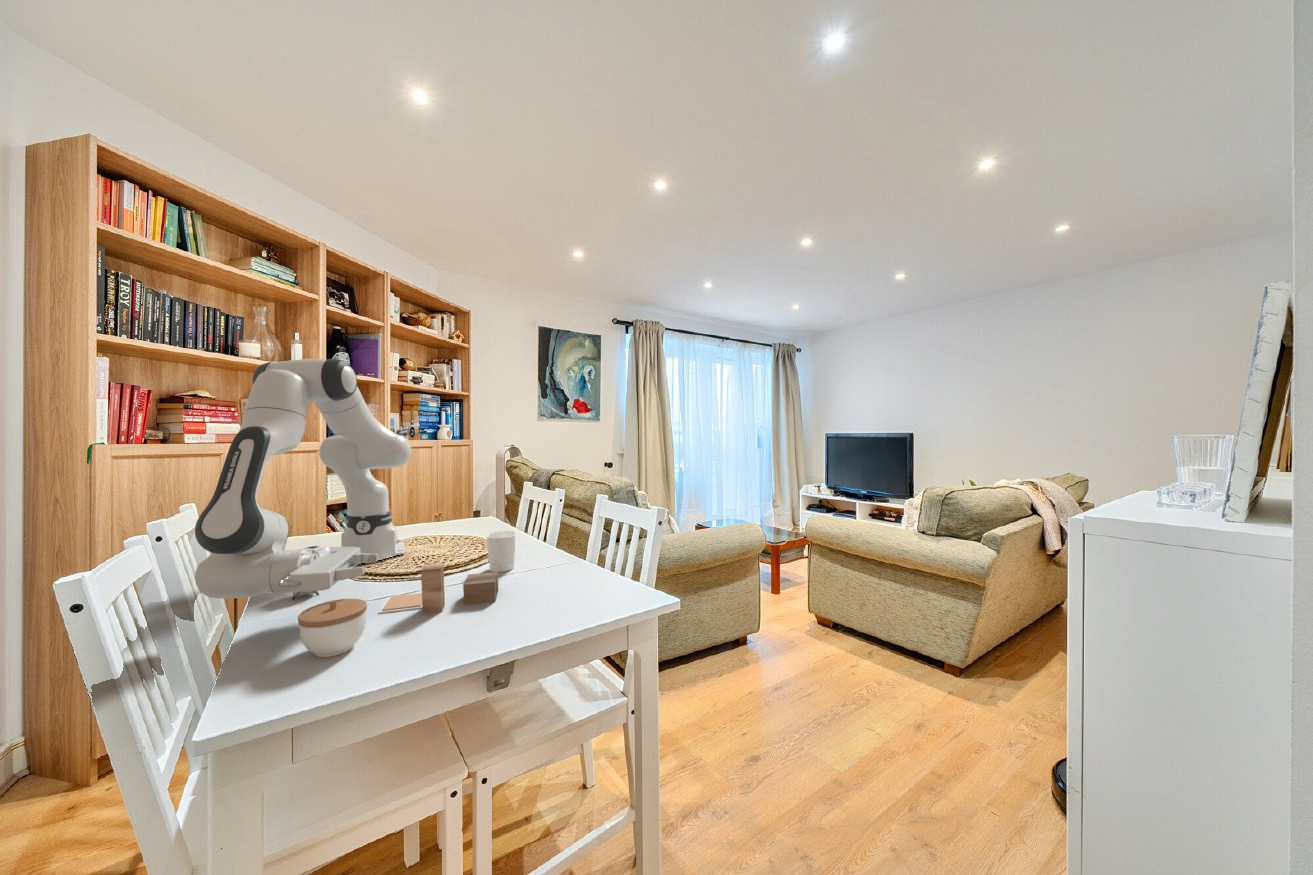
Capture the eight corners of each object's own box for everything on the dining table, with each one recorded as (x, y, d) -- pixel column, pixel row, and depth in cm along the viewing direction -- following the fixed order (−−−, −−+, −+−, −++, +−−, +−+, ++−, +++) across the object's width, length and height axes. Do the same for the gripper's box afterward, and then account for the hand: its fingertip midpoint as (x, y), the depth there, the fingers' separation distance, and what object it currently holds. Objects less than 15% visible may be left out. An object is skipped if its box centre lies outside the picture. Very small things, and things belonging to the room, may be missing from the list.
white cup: (481, 571, 131) (480, 536, 131) (499, 563, 139) (498, 530, 138) (504, 574, 129) (503, 539, 128) (521, 565, 136) (520, 532, 136)
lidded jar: (295, 649, 88) (293, 601, 88) (360, 630, 96) (359, 586, 95) (304, 671, 80) (302, 618, 80) (374, 648, 88) (372, 600, 88)
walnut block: (468, 594, 115) (468, 574, 115) (498, 591, 117) (497, 572, 116) (463, 605, 108) (463, 584, 108) (495, 602, 110) (494, 581, 110)
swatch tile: (389, 598, 113) (389, 595, 113) (430, 593, 115) (430, 591, 115) (378, 613, 104) (378, 610, 104) (423, 608, 106) (423, 605, 106)
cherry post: (426, 607, 107) (424, 564, 107) (444, 604, 108) (443, 562, 108) (422, 614, 103) (421, 570, 103) (442, 611, 104) (440, 568, 104)
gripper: (270, 570, 87) (354, 563, 91) (316, 543, 107) (383, 538, 111) (272, 603, 88) (355, 595, 92) (317, 570, 107) (384, 564, 111)
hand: (371, 564), depth 101 cm, fingers open, 8 cm apart
